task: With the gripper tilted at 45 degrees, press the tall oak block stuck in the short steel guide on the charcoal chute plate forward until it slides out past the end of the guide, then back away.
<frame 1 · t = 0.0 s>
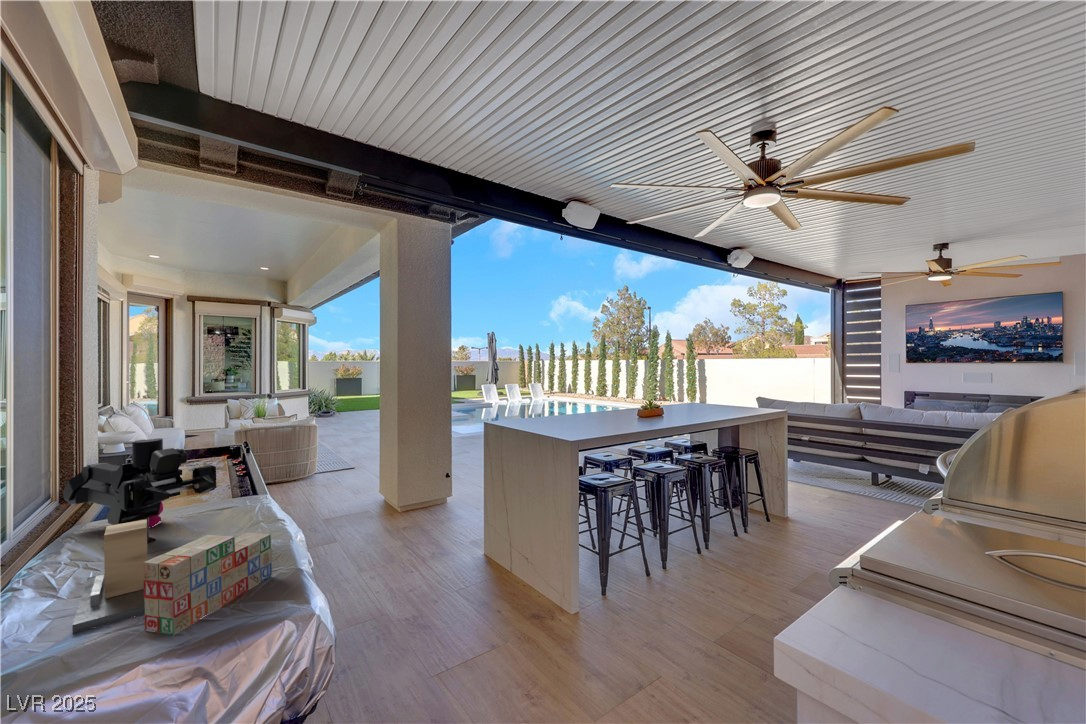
hand: (192, 490, 105), 17 cm above the counter, tool horizontal, fingers open, 9 cm apart
chute: (127, 593, 91), on the counter
oak block: (126, 557, 90), point 8 cm above the counter, slide at 0.0 cm
stack of blocks: (215, 602, 88), on the counter
pepper mill: (146, 526, 128), on the counter
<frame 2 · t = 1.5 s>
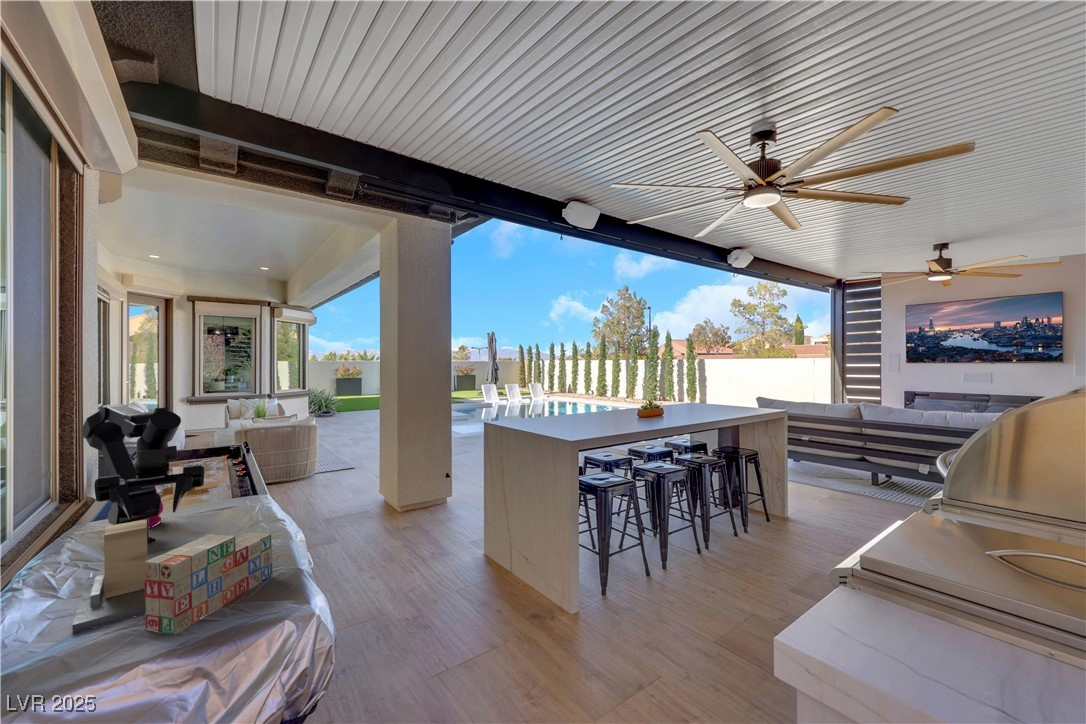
hand: (152, 515, 100), 13 cm above the counter, tool tilted 45°, fingers open, 7 cm apart
nothing on the counter moved.
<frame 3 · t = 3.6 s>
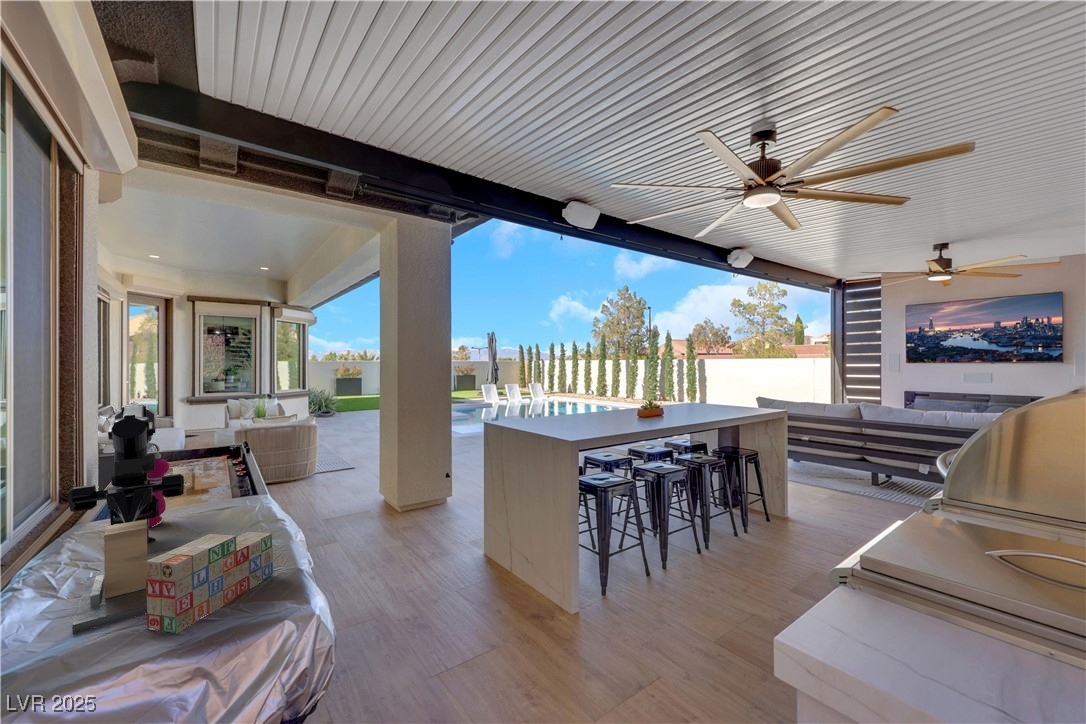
hand: (129, 526, 97), 11 cm above the counter, tool tilted 45°, fingers closed
pepper mill: (146, 525, 128), on the counter, touching arm
everything else where it was.
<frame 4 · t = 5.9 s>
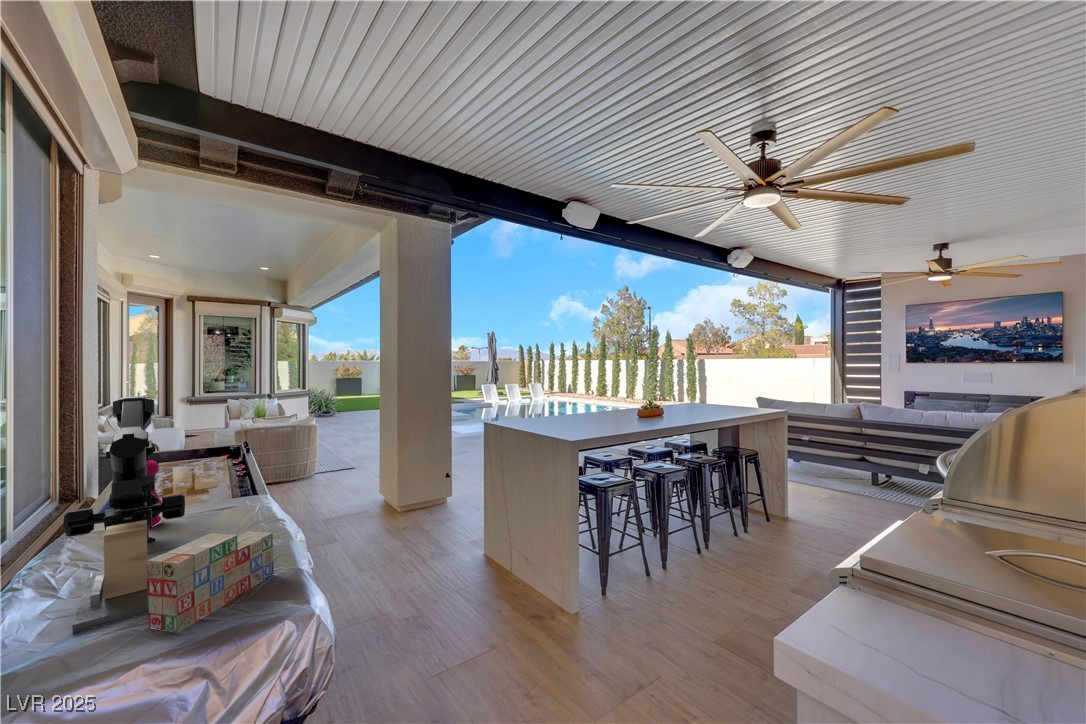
hand: (127, 551, 92), 8 cm above the counter, tool tilted 45°, fingers closed, pressing on oak block
oak block: (126, 557, 90), point 8 cm above the counter, slide at 0.4 cm, touching gripper
pepper mill: (146, 526, 128), on the counter
everything else where it was.
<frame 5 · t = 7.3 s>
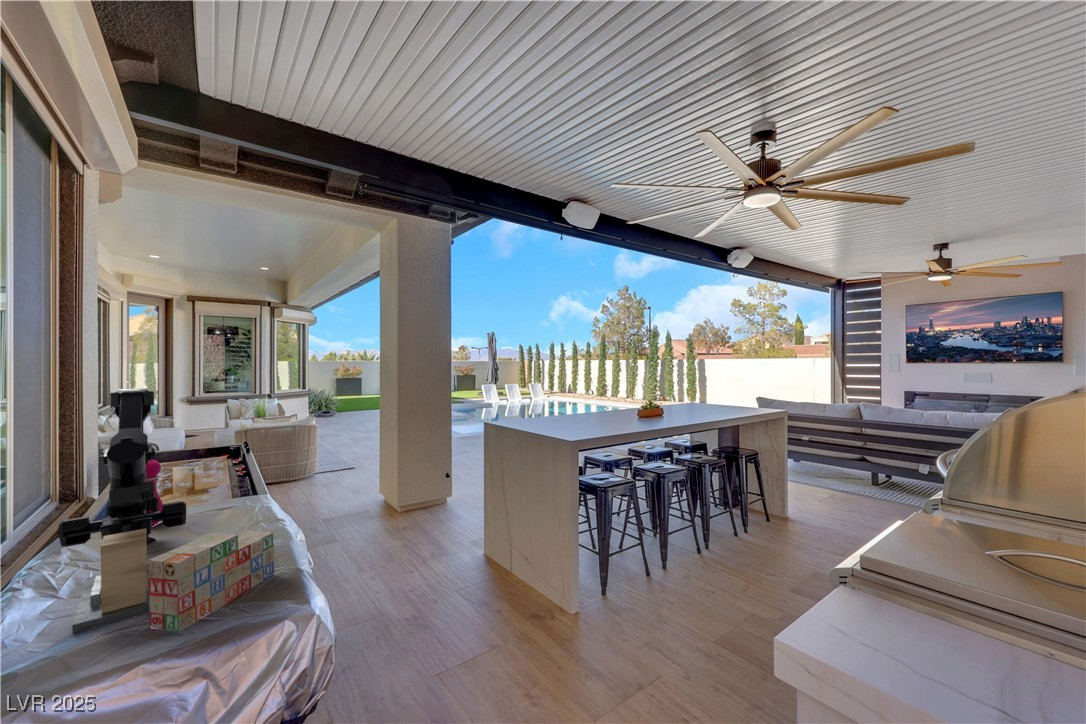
hand: (125, 562, 88), 8 cm above the counter, tool tilted 45°, fingers closed, pressing on oak block
oak block: (124, 568, 85), point 8 cm above the counter, slide at 6.7 cm, touching gripper
everything else where it was.
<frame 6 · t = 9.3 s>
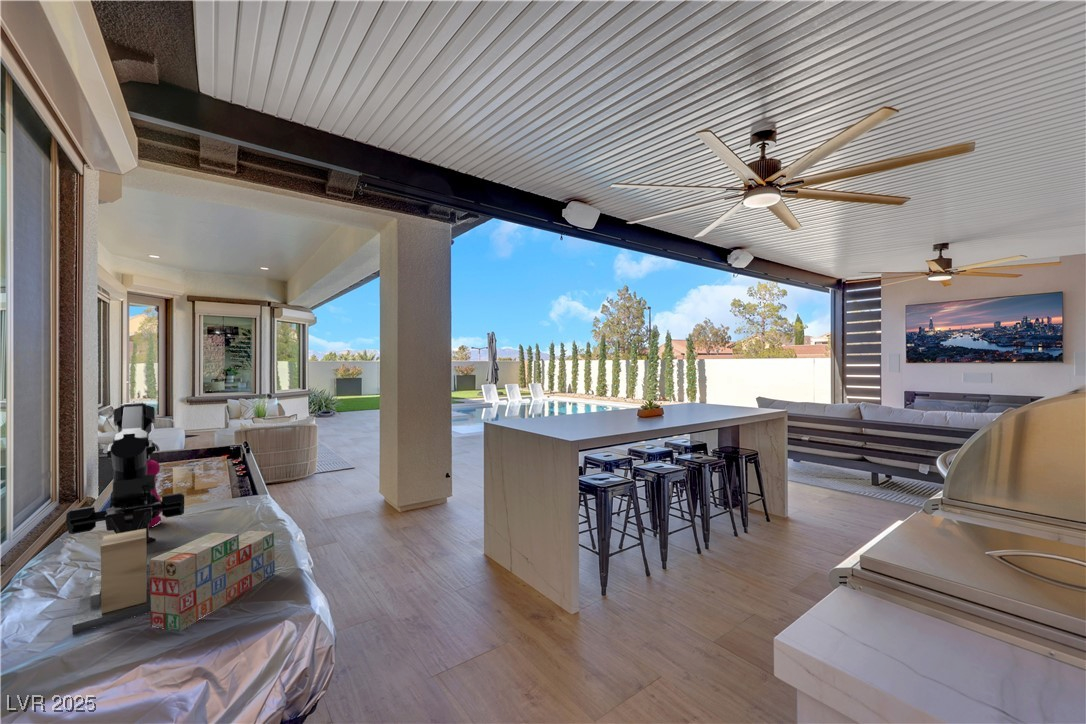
hand: (128, 548, 95), 7 cm above the counter, tool tilted 45°, fingers closed
oak block: (124, 568, 85), point 8 cm above the counter, slide at 6.7 cm
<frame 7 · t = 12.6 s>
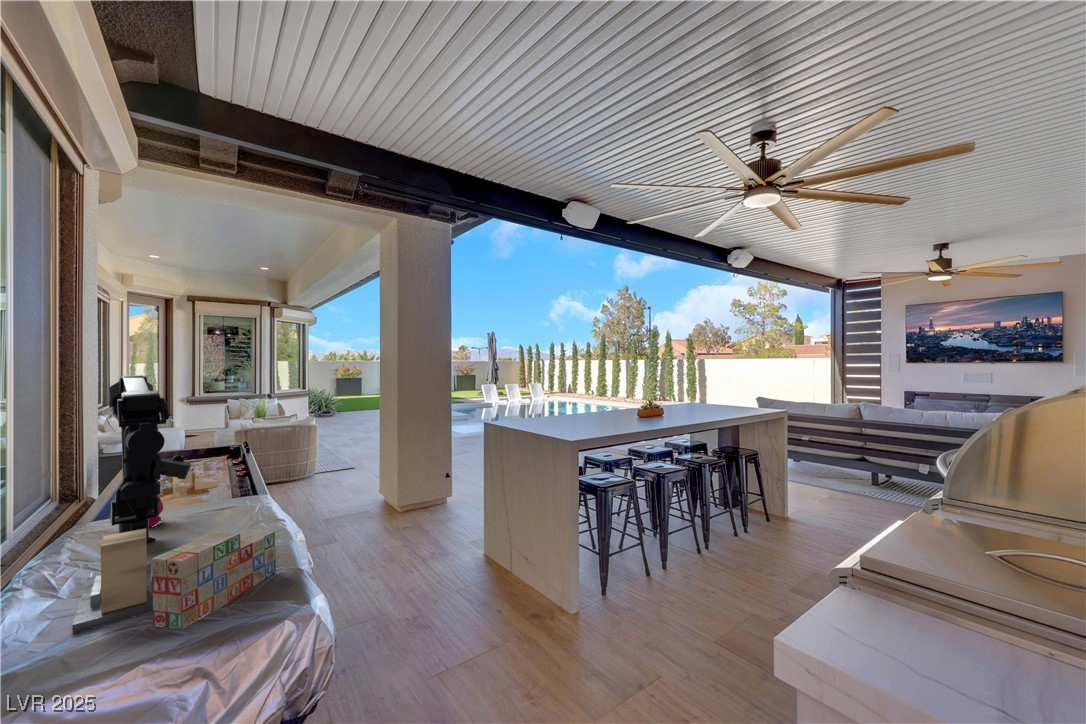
hand: (142, 521, 101), 11 cm above the counter, tool pointing down, fingers closed
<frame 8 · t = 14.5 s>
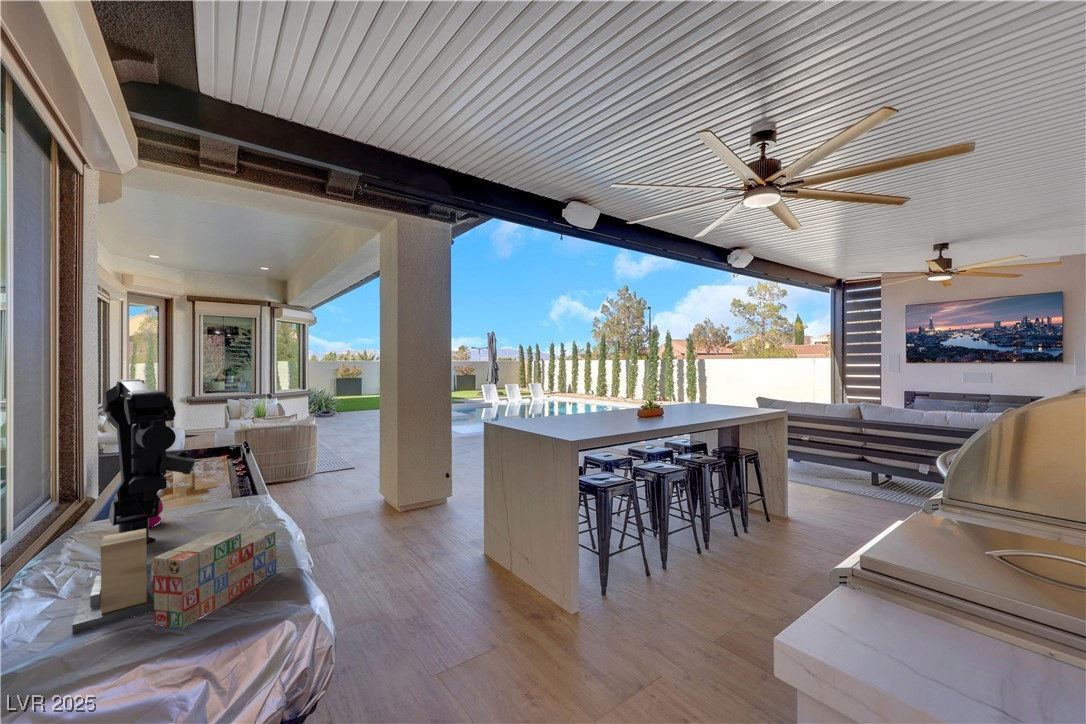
hand: (149, 514, 105), 11 cm above the counter, tool pointing down, fingers closed
at the end: oak block slide at 6.7 cm; stack of blocks moved 1.9 cm from its start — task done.
